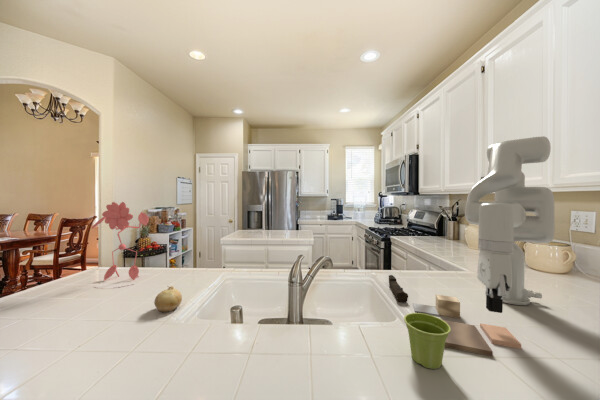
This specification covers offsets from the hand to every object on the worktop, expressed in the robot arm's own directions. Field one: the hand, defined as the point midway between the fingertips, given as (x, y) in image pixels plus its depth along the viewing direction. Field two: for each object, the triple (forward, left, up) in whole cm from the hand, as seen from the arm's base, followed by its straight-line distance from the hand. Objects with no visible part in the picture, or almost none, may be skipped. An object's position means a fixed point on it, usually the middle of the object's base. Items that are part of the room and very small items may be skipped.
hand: (494, 310), depth 65 cm
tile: (0, -1, -6) cm, 6 cm away
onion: (+96, +24, -6) cm, 100 cm away
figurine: (+138, +15, -6) cm, 139 cm away
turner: (+13, -7, -6) cm, 16 cm away
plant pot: (+20, +20, -6) cm, 29 cm away
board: (+12, +7, -6) cm, 15 cm away
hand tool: (+26, -19, -6) cm, 32 cm away
